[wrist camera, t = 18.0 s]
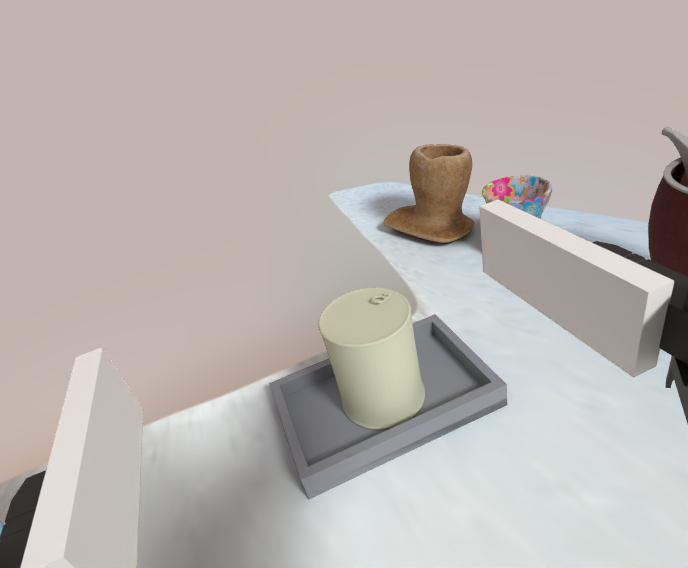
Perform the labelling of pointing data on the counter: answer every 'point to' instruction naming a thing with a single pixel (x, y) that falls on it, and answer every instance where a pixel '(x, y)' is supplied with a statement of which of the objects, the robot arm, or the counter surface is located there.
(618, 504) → the counter surface
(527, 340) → the counter surface
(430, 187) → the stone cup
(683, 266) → the mate gourd
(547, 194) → the mug
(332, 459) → the tray
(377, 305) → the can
